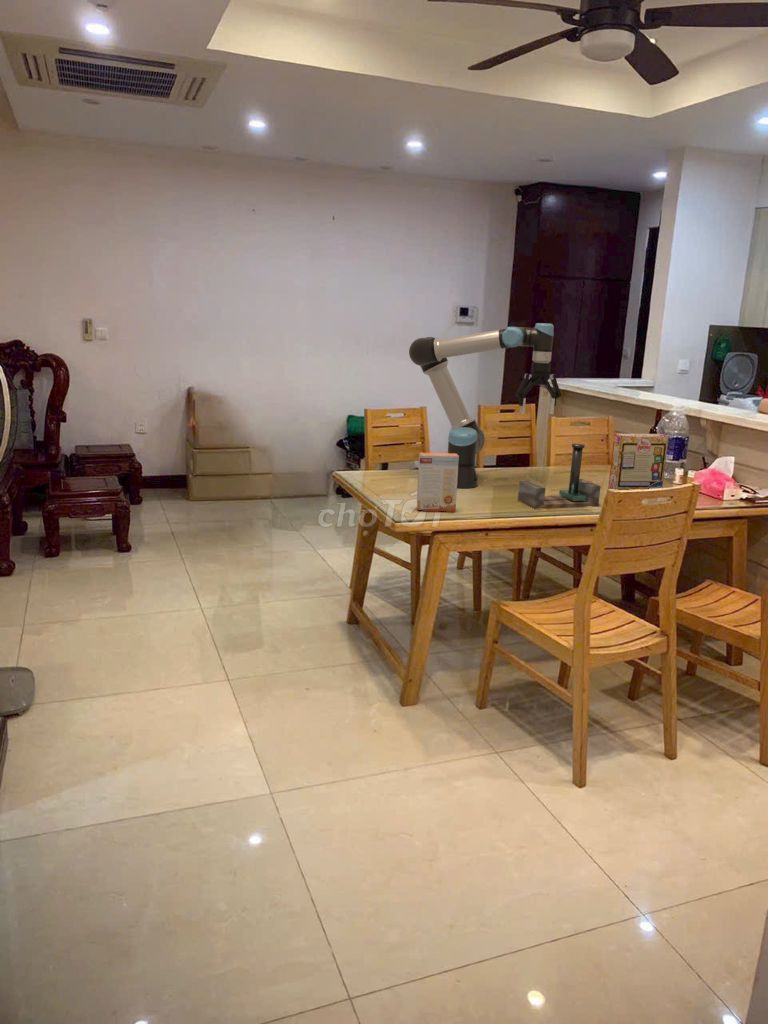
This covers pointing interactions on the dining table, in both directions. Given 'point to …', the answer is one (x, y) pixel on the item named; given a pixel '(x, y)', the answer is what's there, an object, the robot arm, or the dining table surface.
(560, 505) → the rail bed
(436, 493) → the cracker box
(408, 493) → the dining table surface
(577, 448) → the green pole stand
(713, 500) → the dining table surface
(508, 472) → the dining table surface
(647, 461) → the board game box
